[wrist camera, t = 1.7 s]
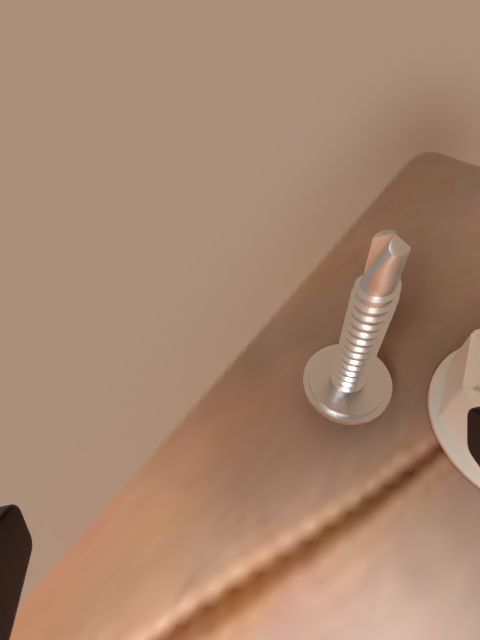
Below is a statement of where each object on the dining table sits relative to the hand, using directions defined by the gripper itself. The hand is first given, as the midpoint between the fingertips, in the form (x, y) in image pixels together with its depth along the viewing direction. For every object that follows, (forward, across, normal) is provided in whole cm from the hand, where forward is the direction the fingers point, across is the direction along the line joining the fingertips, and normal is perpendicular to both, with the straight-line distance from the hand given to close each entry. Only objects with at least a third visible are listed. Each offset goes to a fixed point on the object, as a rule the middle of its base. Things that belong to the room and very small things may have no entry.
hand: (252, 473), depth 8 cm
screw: (+14, -6, +7) cm, 17 cm away
